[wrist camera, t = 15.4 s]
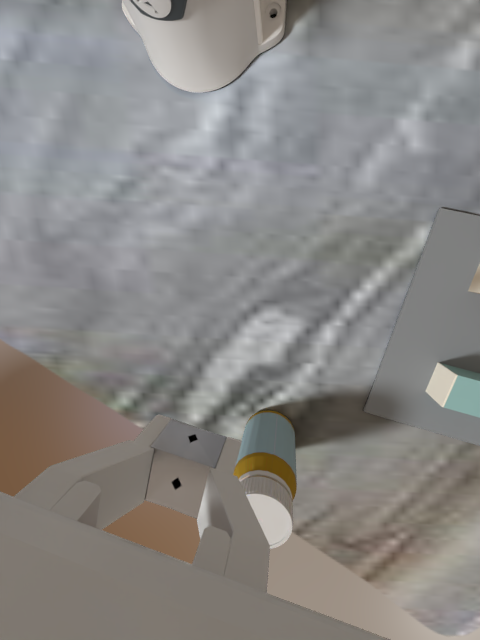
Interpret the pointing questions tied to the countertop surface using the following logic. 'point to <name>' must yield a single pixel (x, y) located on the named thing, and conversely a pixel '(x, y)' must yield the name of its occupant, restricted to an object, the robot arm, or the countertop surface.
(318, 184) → the countertop surface
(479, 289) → the walnut block
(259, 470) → the bottle
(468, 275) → the mat
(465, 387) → the teal block
